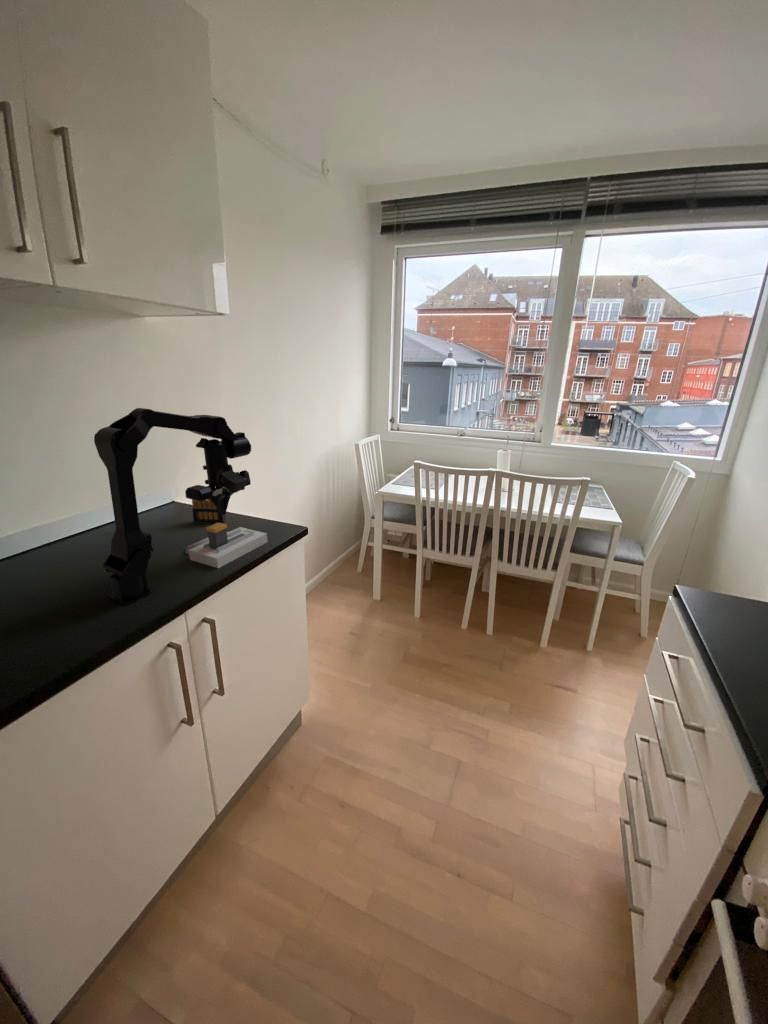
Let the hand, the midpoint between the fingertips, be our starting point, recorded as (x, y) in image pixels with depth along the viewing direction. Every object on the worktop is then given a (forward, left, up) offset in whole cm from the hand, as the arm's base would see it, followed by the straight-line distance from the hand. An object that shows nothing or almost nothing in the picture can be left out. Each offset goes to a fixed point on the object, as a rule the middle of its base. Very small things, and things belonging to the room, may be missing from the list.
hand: (223, 514), depth 121 cm
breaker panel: (+1, 0, -12) cm, 12 cm away
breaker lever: (-3, 0, -8) cm, 9 cm away
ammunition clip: (+15, +24, -12) cm, 31 cm away
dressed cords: (+1, +9, -12) cm, 15 cm away
